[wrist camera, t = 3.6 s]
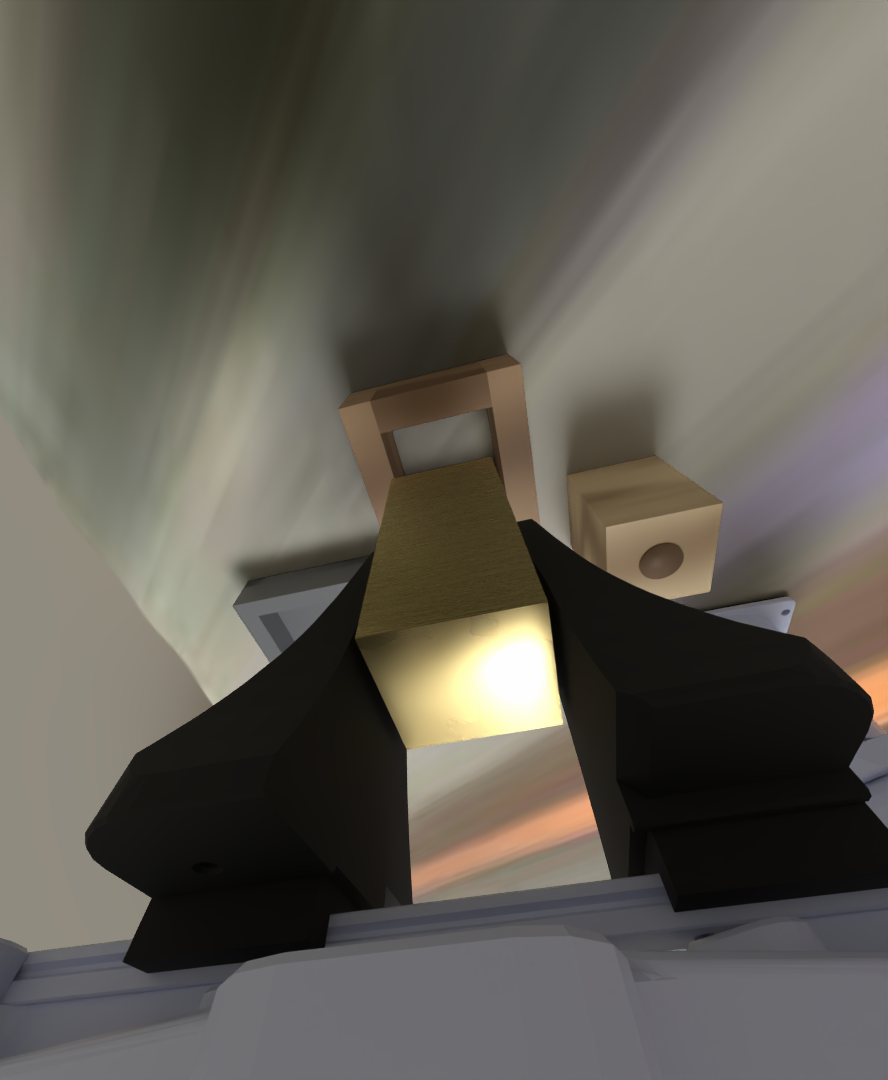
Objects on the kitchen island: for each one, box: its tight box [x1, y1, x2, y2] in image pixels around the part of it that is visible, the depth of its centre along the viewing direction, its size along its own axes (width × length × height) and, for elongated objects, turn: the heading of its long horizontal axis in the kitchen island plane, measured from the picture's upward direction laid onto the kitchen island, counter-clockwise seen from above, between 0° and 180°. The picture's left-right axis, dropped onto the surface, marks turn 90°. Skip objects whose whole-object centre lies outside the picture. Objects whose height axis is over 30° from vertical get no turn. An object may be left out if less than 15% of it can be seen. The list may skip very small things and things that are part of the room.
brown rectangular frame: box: [338, 354, 540, 527], centre depth 18 cm, size 7×7×3 cm
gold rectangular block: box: [355, 457, 563, 749], centre depth 10 cm, size 3×3×7 cm
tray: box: [233, 556, 369, 662], centre depth 25 cm, size 10×10×2 cm
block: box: [566, 456, 723, 600], centre depth 19 cm, size 4×4×6 cm
